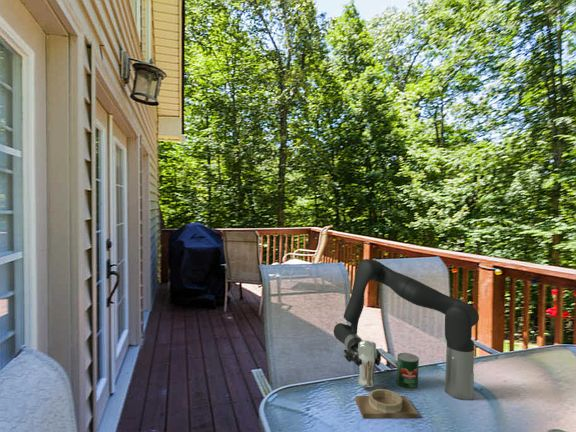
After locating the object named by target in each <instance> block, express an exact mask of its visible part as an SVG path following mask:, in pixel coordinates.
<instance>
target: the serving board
mask: <svg viewBox="0 0 576 432" xmlns="http://www.w3.org/2000/svg"><path fill="white" fill-rule="evenodd" d="M354 401H355V403H356V406H357V407H358V409H359V412H360V414H361V417H362V419H418V418H419V413H418V411H417V410H416V409H415V407H414V406H413V404H412V403H411V402H410V400H409V398H407V396H406V395H400V394H399V393H396V391H393V390H390V389H385V388H377V389H376V388H375V389H373V390H371V391H370V392H369V394H368V395H355V396H354Z"/></svg>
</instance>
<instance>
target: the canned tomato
mask: <svg viewBox="0 0 576 432" xmlns="http://www.w3.org/2000/svg"><path fill="white" fill-rule="evenodd" d="M396 360H397V361H396V363H397V364H396V383H395V384H396V386H398V387H399V388H401V389H403V390H405V391H414V390H417V389H418V388H419V366H420V364H419V363H420V361H419V360H420V358H419V356H418V355H416V354H413V353H409V352H400V353H398V354H397V359H396Z"/></svg>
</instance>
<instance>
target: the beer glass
mask: <svg viewBox="0 0 576 432" xmlns="http://www.w3.org/2000/svg"><path fill="white" fill-rule="evenodd" d="M376 349H377V344H376V343H375V342H374V341H371V340H363V341H360V342H359V343H358V359H359V360H360V366H358V370H359V373H358V374H359V375H358V379H357V381H358V382H357V383H358V384H359V385H360V386H362V387H365V388H372V387H374V386H375V382H376V381H375V377H374V376H375V375H374V374H375V369H376Z"/></svg>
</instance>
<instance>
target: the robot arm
mask: <svg viewBox="0 0 576 432" xmlns="http://www.w3.org/2000/svg"><path fill="white" fill-rule="evenodd" d="M370 281H375V282H377V283H381V284H383V285H385V286H387V287H389V288H390V289H391V290H392V291H393V292H394V293H395V294H396V295H397V296H399V297H400V298H401V299H403V300H406V301H407V302H409V303H411V304H413V305H416V306H418V307H421V308H425V309H430V310H432V311H436V312H439V313H441V314H443V315H444V337H445V340H446V351H445V352H446V353H445V355H446V356H445V381H444V391H445V393H446V394H447V395H449V396H450V397H453V398H454V399H457V400H458V399H459V400H474V381H475V380H474V378H475V376H474V375H475V372H474V363H475V341H474V340H473V339H472V328H473V327H474V326H476V325H477V323H478V322H479V320H480V316H479V313H478V310H477V309H476V308H475V307H474V306H473V305H471V304H470V303H468V302H465V301H463V300H460V299H457V298H454V297H452V296H449V295H447V294H445V293H442V292H440V291H438V290H437V289H435V288H432V287H431V286H429V285H426V284H424V283H423V282H421V281H419V280H416V279H415V278H412V277H410V276H408V275H405V274H404V273H400V272H397V271H395V270H392V269H391V268H390V267H388V266H386V265H385V264H383V263H381V262H380V261H378V260H376V259H370V258H363V259H362V260H361V261H359V263H358V264H357V268H356V271H355V276H354V281H353V285H352V290H351V293H350V297H349V300H348V303H347V306H346V309H345V310H344V313H343V318H344V320H345V321H346V322H348V323H350V325H348V324H345V323H341V322H339V323H336V324H335V326H334V328H333V335H334V337H335V339H337V340H338V341H339V342H340V343H342V344H343V345H344V346H345V349H343V357H344V358H345V360H346V361H347V362H348V363H350V362H351V363H352V362H353V363H354V365H356V366H357V367H359V366H360V360H359V359H358V343H359V342H360V341H364V340H363V339H362V338H361V337H360V336H359V335H358V327H359V321H360V318H361V316H362V313H363V310H364V306H365V292H366V289H367V286H368V284H369V282H370ZM381 361H382V354H381V352H380V351H379V349H378V348H376V364H375V366H380V364H381Z"/></svg>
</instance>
